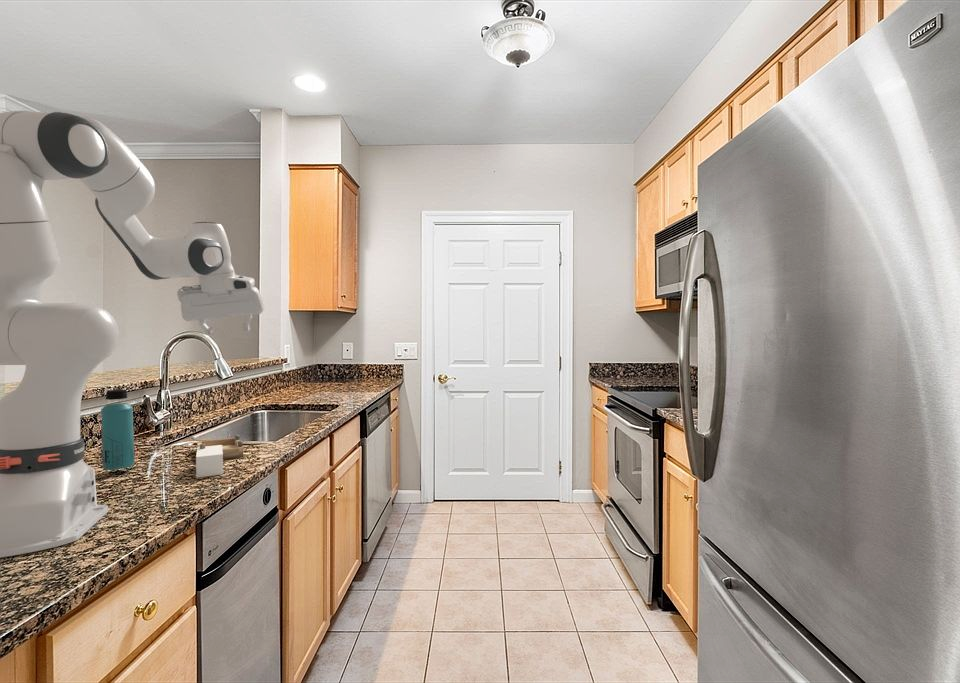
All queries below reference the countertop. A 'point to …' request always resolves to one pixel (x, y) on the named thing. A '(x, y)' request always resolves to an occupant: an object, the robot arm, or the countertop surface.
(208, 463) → the pale grey squarish block
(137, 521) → the countertop surface
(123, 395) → the beverage bottle
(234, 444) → the carcass
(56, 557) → the countertop surface
